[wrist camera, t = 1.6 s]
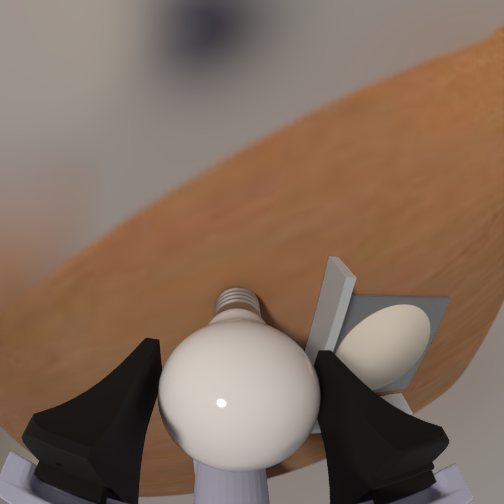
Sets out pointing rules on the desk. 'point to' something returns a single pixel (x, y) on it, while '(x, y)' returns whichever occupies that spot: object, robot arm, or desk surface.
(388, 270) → the desk surface
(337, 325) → the acrylic fence
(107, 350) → the desk surface
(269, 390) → the lightbulb
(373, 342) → the mat
